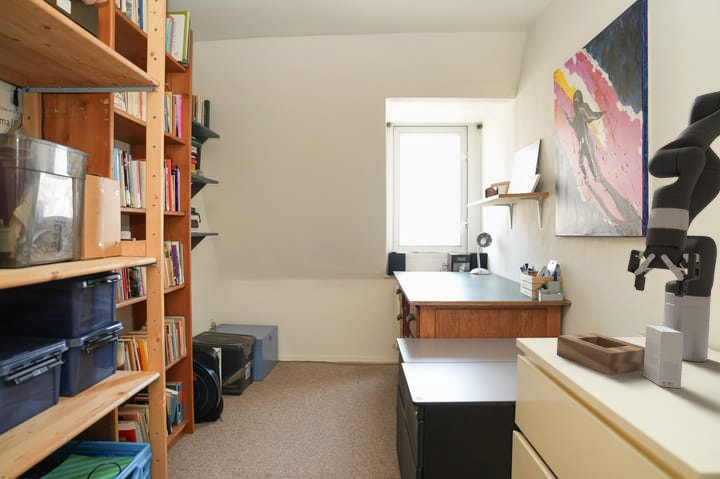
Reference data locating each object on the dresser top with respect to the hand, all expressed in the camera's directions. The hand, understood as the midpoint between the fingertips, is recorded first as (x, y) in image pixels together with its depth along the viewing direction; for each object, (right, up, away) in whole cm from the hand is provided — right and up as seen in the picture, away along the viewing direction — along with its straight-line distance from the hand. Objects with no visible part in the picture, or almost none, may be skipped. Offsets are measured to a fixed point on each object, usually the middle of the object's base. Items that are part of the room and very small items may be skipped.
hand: (658, 293), depth 87 cm
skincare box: (-7, -19, -8) cm, 21 cm away
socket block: (-12, -18, +3) cm, 22 cm away
